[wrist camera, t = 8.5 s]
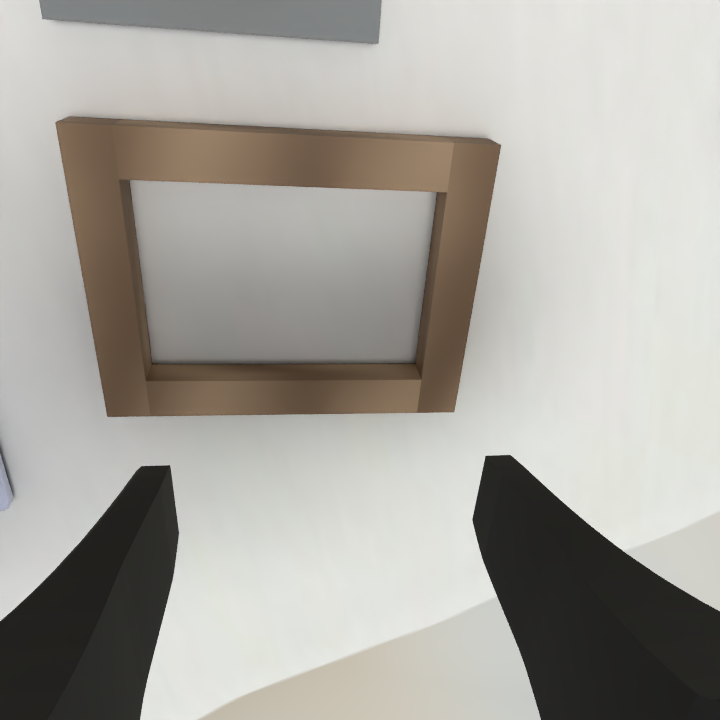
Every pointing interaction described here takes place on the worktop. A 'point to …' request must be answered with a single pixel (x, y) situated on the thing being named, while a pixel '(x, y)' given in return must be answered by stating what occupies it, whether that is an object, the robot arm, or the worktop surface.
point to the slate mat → (232, 16)
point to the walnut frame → (279, 168)
